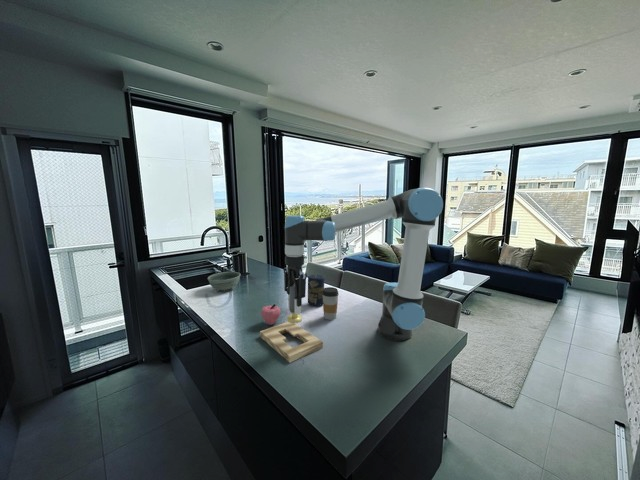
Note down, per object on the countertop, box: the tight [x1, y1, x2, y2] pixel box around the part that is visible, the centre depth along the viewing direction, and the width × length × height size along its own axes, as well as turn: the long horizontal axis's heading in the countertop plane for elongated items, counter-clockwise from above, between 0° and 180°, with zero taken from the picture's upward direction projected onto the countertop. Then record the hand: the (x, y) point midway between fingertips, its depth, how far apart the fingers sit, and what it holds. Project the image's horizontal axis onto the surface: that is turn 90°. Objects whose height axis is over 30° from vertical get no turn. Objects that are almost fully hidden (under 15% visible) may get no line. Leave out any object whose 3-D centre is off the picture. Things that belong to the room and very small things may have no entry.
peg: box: [286, 285, 303, 324], centre depth 106 cm, size 6×6×14 cm
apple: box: [260, 303, 281, 326], centre depth 127 cm, size 10×9×10 cm
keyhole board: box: [259, 321, 324, 363], centre depth 111 cm, size 24×16×3 cm, turn 40°
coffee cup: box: [322, 286, 339, 321], centre depth 134 cm, size 8×8×15 cm
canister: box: [307, 273, 325, 307], centre depth 151 cm, size 10×10×18 cm
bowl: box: [207, 271, 241, 293], centre depth 175 cm, size 21×21×10 cm
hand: (294, 311), depth 106 cm, fingers closed on peg, 4 cm apart
